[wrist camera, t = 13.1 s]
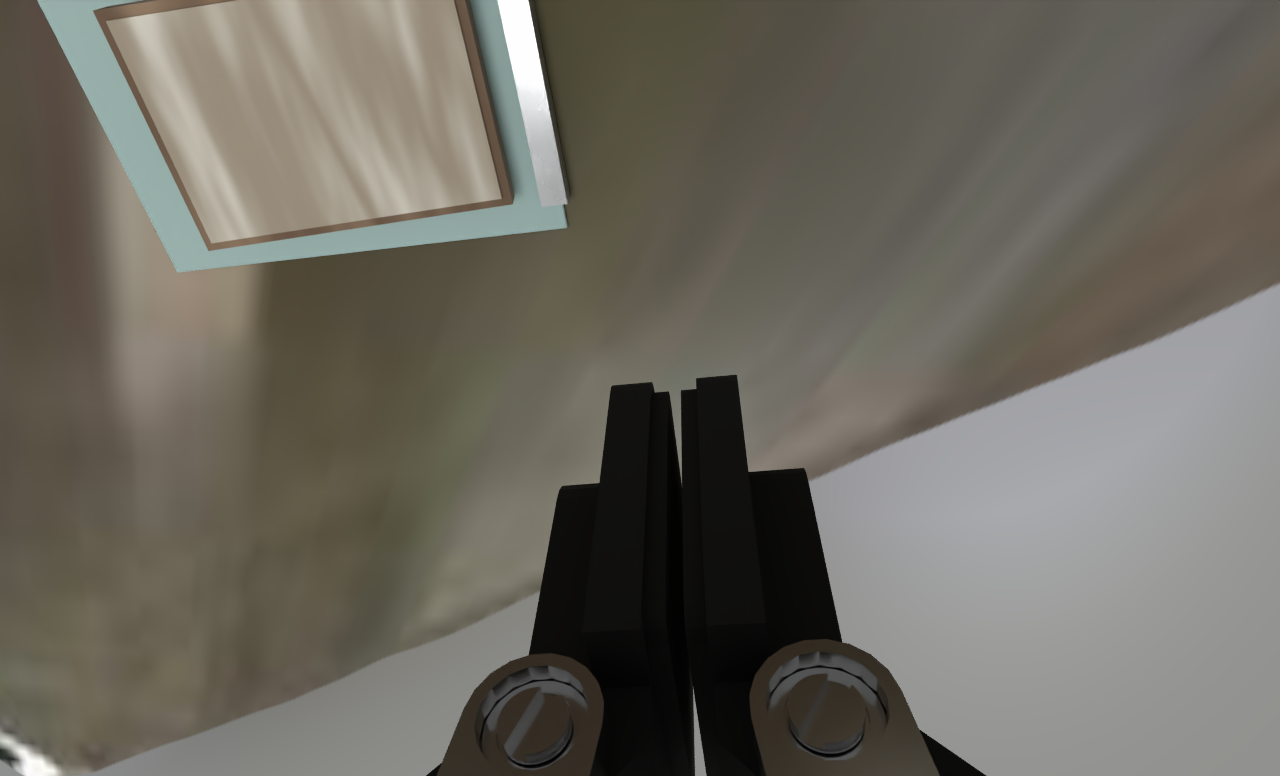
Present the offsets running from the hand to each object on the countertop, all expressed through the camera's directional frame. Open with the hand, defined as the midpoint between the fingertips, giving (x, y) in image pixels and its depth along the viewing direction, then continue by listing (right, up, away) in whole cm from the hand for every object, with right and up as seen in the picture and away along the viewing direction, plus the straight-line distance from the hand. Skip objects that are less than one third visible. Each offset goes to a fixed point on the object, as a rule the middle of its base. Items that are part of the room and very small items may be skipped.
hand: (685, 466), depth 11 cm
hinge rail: (-5, +15, +23) cm, 28 cm away
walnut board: (-7, +14, +22) cm, 27 cm away
